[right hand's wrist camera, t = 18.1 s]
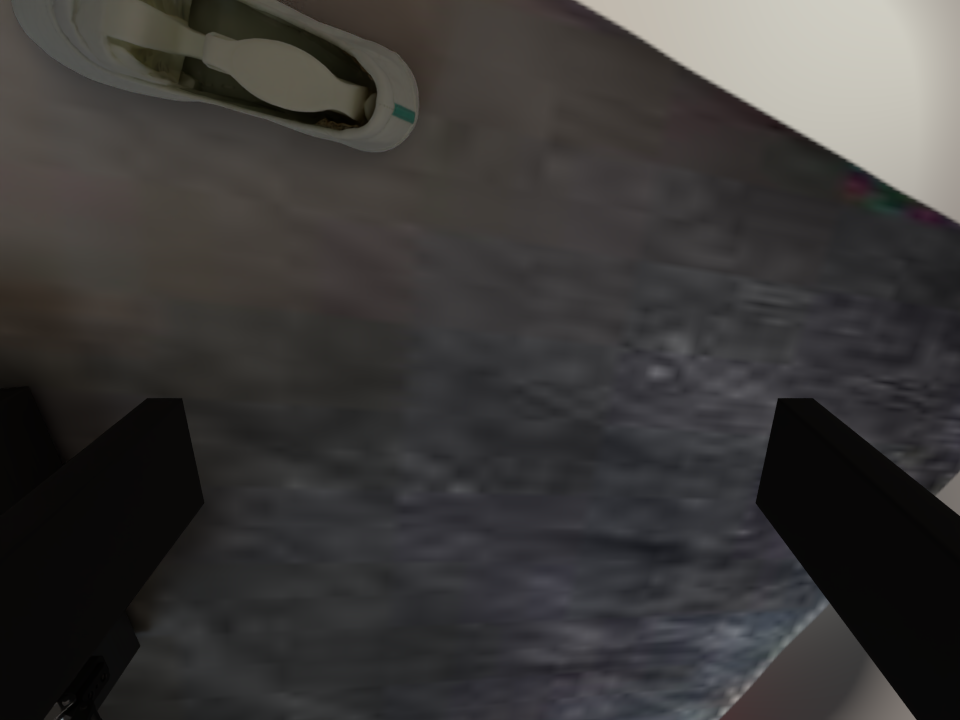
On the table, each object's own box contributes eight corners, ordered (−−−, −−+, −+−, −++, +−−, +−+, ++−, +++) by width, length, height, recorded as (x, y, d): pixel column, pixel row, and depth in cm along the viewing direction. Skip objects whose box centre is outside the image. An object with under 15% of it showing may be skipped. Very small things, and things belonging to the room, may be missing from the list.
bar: (-36, 391, 43) (-158, 453, 35) (28, 385, 43) (-80, 446, 35) (88, 649, 53) (15, 745, 45) (140, 646, 53) (77, 741, 45)
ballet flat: (31, -100, 33) (-98, -167, 26) (440, 42, 36) (430, 19, 28) (28, 57, 36) (-88, 38, 29) (406, 177, 39) (389, 188, 31)
